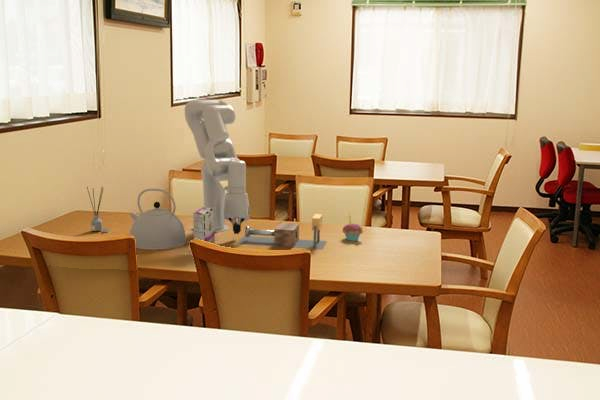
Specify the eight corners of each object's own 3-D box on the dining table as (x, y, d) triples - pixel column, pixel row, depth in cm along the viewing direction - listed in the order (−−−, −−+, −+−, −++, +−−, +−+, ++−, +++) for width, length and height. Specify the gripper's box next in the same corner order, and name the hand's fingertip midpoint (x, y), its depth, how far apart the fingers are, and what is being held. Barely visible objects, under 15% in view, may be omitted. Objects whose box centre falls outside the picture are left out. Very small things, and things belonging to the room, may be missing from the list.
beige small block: (311, 230, 264) (312, 218, 263) (314, 225, 271) (315, 213, 270) (319, 230, 263) (319, 218, 262) (321, 226, 271) (322, 214, 270)
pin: (245, 238, 271) (245, 227, 270) (247, 235, 275) (247, 224, 275) (280, 240, 268) (281, 229, 268) (283, 237, 273) (283, 227, 272)
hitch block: (274, 245, 266) (274, 224, 264) (280, 238, 277) (280, 217, 275) (315, 248, 263) (316, 226, 261) (319, 241, 274) (320, 220, 273)
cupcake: (348, 243, 273) (349, 215, 271) (338, 238, 281) (339, 211, 278) (366, 241, 277) (367, 214, 275) (355, 236, 285) (356, 210, 282)
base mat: (235, 245, 268) (235, 243, 268) (243, 237, 280) (243, 235, 280) (322, 250, 262) (322, 249, 262) (326, 242, 274) (327, 241, 274)
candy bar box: (203, 246, 265) (202, 206, 262) (214, 247, 264) (214, 207, 261) (193, 253, 254) (192, 212, 251) (205, 254, 253) (205, 213, 250)
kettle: (113, 245, 264) (111, 190, 260) (145, 232, 285) (144, 181, 281) (166, 252, 256) (164, 196, 251) (195, 239, 276) (195, 186, 272)
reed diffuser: (84, 231, 285) (82, 186, 281) (94, 227, 291) (92, 183, 287) (104, 233, 282) (103, 188, 278) (114, 230, 288) (112, 185, 284)
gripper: (216, 190, 268) (217, 234, 271) (252, 192, 265) (252, 236, 269) (222, 187, 275) (222, 230, 278) (256, 189, 272) (256, 232, 276)
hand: (236, 233), depth 274 cm, fingers closed
